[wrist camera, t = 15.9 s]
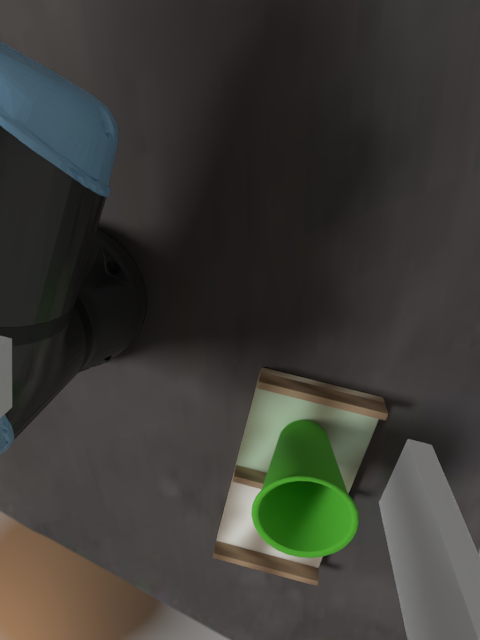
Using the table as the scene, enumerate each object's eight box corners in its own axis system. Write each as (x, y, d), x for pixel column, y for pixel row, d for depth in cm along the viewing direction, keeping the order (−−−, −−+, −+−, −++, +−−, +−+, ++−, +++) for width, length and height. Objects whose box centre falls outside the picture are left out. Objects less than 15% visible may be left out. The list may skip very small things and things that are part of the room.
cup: (354, 465, 47) (369, 552, 37) (274, 477, 49) (268, 563, 39) (335, 395, 44) (346, 469, 34) (251, 412, 46) (237, 486, 36)
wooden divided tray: (217, 537, 56) (212, 557, 53) (261, 367, 46) (258, 381, 43) (316, 563, 55) (316, 585, 53) (383, 397, 45) (388, 414, 42)
